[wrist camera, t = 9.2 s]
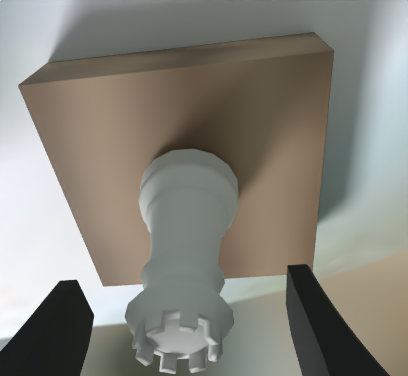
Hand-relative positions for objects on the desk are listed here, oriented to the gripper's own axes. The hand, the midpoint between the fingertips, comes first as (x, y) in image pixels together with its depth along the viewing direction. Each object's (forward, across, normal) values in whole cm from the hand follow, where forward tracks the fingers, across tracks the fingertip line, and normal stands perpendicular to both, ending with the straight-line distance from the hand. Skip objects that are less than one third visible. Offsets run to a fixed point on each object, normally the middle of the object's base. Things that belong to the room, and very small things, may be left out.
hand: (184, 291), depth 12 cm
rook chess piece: (+6, 0, -1) cm, 6 cm away
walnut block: (+8, 0, 0) cm, 9 cm away
